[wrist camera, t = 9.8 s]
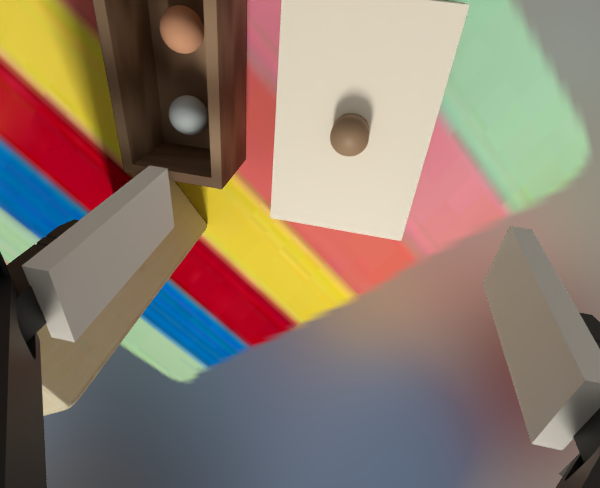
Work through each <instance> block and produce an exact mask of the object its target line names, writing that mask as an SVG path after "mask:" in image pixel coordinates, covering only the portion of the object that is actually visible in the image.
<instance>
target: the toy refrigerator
mask: <svg viewBox="0 0 600 488" xmlns="http://www.w3.org/2000/svg"><path fill="white" fill-rule="evenodd" d="M169 185H170V194H171V202H172V210H173V219H174V228H173V229H172V230H171V231H170V233H169V234H168V235H167V236H166V237H165V238H164V240H163V241H162V242H161V243H160V244H159V245H158V247H157V248H156V249H155V250H154V251H153V252H152V253H151V255H150V256H149V257H148V258H147V259H146V260H145V262H144V263H143V264H142V265H141V266H140V267H139V269H138V270H137V271H136V272H135V273H134V274H133V276H132V277H131V278H130V279H129V280H128V281H127V283H126V284H125V285H124V286H123V287H122V288H121V290H120V291H119V292H118V293H117V294H116V295H115V296H114V298H113V299H112V300H111V301H110V302H109V303H108V305H107V306H106V307H105V308H104V309H103V310H102V312H101V313H100V314H99V315H98V316H97V317H96V319H95V320H94V321H93V322H92V323H91V324H90V326H89V327H88V328H87V329H86V330H85V331H84V332H83V334H82V335H81V336H80V337H79V338H78V339H77V341H76V342H71V341H67V340H62V339H57V338H53V337H51V335H50V332H49V330H48V327H47V325H46V324H45V325H44V326H43V327H42V328H41V329H40V330H39V331H38V332H37V335H38V337H39V339H40V352H41V374H42V396H43V416H45V415H48V414H52V413H56V412H59V411H63V410H66V409H68V408H70V407H71V406H73V405H74V404H75V403H76V402H77V400H78V399H79V398H80V397H81V395H82V394H83V393H84V391H85V390H86V389H87V387H88V386H89V385H90V383H91V382H92V381H93V379H94V378H95V377H96V375H97V374H98V372H99V371H100V370H101V368H102V367H103V366H104V364H105V363H106V362H107V360H108V359H109V358H110V356H111V355H112V354H113V352H114V351H115V350H116V348H117V347H118V346H119V344H120V343H121V342H122V340H123V339H124V338H125V336H126V335H127V334H128V332H129V331H130V329H131V328H132V327H133V325H134V324H135V323H136V321H137V320H138V319H139V317H140V316H141V315H142V313H143V312H144V311H145V309H146V308H147V307H148V305H149V304H150V303H151V301H152V300H153V299H154V297H155V296H156V295H157V293H158V292H159V291H160V289H161V288H162V287H163V286H164V284H165V283H166V281H167V280H168V279H169V278H170V276H171V275H172V273H173V272H174V271H175V270H176V268H177V267H178V266H179V264H180V263H181V262H182V260H183V259H184V258H185V256H186V255H187V253H188V252H189V251H190V250H191V248H192V247H193V246H194V244H195V243H196V242H197V240H198V239H199V238H200V236H201V235H202V233H203V232H204V231H205V230H206V228H207V224H206V222H205V221H204V219H203V218H202V217H201V216H200V214H199V213H198V212H197V210H196V209H195V208H194V206H193V205H192V204H191V202H190V201H189V200H188V198H187V197H186V196H185V194H184V193H183V192H182V190H181V189H180V188H179V186H178V185H177V184H176V183H175V181H171V180H169Z"/></svg>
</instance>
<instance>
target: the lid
mask: <svg viewBox="0 0 600 488" xmlns="http://www.w3.org/2000/svg"><path fill="white" fill-rule="evenodd" d="M468 9H469V4H465V3H461V2H452V1H443V0H282V3H281V22H280V41H279V61H278V80H277V99H276V119H275V138H274V157H273V177H272V196H271V215H270V218H274V219H280V220H286V221H291V222H297V223H303V224H308V225H314V226H319V227H325V228H331V229H336V230H342V231H348V232H353V233H359V234H365V235H370V236H376V237H382V238H387V239H393V240H399V241H401V240H402V236H403V233H404V230H405V226H406V223H407V219H408V216H409V212H410V209H411V205H412V202H413V198H414V195H415V192H416V188H417V185H418V181H419V178H420V174H421V171H422V167H423V164H424V161H425V157H426V154H427V150H428V147H429V143H430V140H431V136H432V133H433V130H434V126H435V123H436V119H437V116H438V112H439V109H440V105H441V102H442V99H443V95H444V92H445V88H446V85H447V81H448V78H449V74H450V71H451V68H452V64H453V61H454V57H455V54H456V50H457V47H458V43H459V40H460V36H461V33H462V30H463V26H464V23H465V19H466V16H467V12H468Z"/></svg>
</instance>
